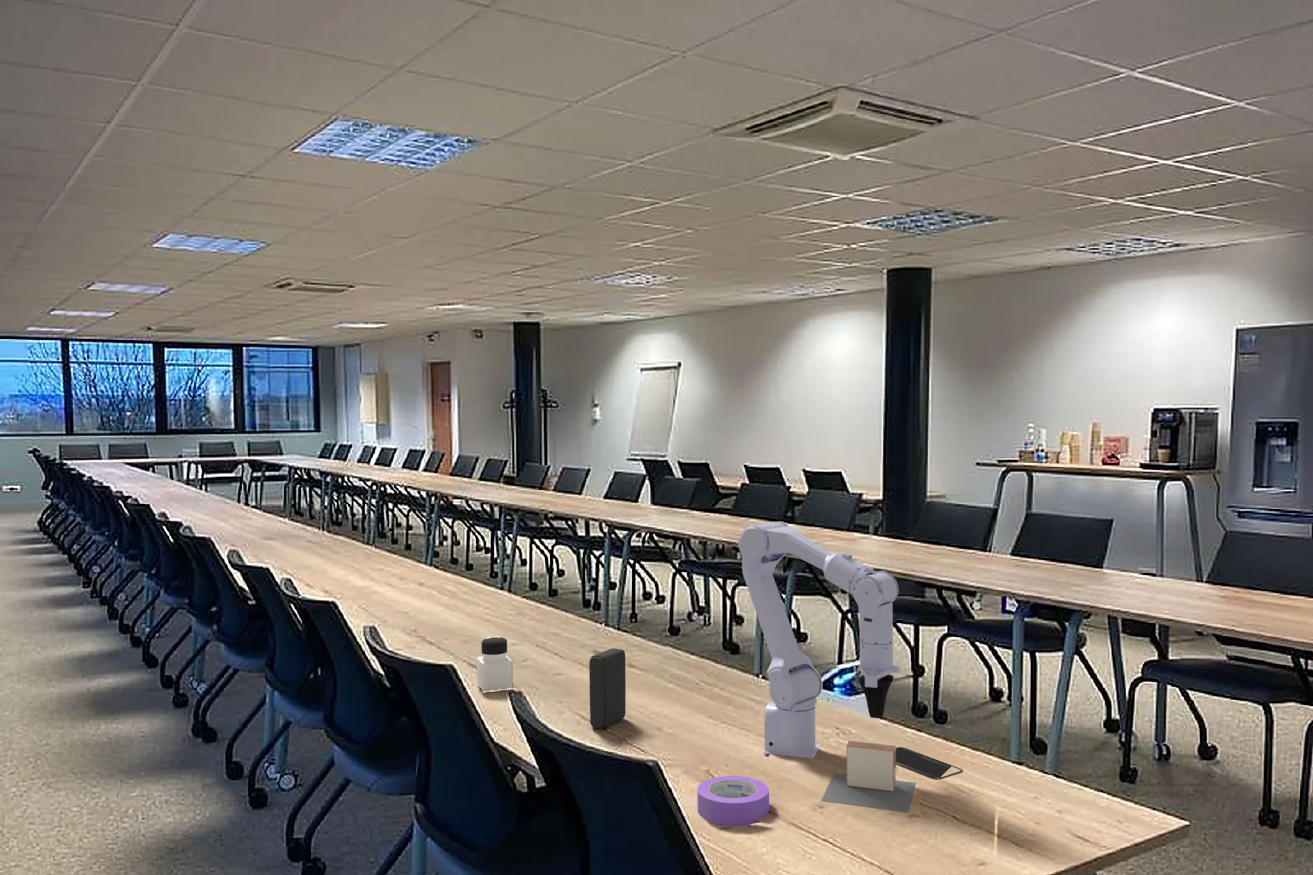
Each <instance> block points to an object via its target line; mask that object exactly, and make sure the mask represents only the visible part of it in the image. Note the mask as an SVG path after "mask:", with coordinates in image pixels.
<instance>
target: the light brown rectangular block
mask: <svg viewBox="0 0 1313 875" xmlns="http://www.w3.org/2000/svg"><path fill="white" fill-rule="evenodd" d="M896 748H897V746H896V745H890V744H880V743H872V742H862V741H854V740H848V741H847V744H846V774H847V786H853V787H861V788H869V789H877V790H884V791H892V792H895V788H896V780H897V765H896Z"/></svg>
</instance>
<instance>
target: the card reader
mask: <svg viewBox="0 0 1313 875" xmlns="http://www.w3.org/2000/svg"><path fill="white" fill-rule="evenodd" d="M588 663H589V664H588V665H589V668H588V669H589V674H588V675H589V676H588V677H589V716H590V717H589V718H590V721H589V722H590V725H591V727H592V728H596V729H603V730H604V729H606V728H608V727H610V726H612V725H614V724H616V723H617V722H620V721H622V720H623V719H624V718H625V716H626V713H627V712H626V708H627V707H626V705H627V704H626V703H627V702H626V698H627V696H626V693H627V692H626V690H627V689H626V688H627V687H626V686H627V685H626V684H627V683H626V651H625V650H624V649H621V648H613V647H612V648H609V649H607V650H604V651H602V652H598V653H597V654H594V655H592V656H591V657H590V659H589V662H588Z"/></svg>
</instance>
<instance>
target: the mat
mask: <svg viewBox="0 0 1313 875" xmlns="http://www.w3.org/2000/svg"><path fill="white" fill-rule="evenodd" d="M915 787H916V782H912V781H905V780H904V781H903V780H897V779H896V788H895V792H892V791H884V790H877V789H869V788H861V787H853V786H847V773H846V774H845V773H839V772H834V773H833V775H832V777H831V779H830V781H829V783H828V785H827V788H826V789H825V792H824V793H823V796H822V798H821V799H820V801H821V802H825V803H826V802H827V803H832V804H833V803H834V804H841V805H847V806H856V807H864V808H870V809H871V808H872V809H877V810H879V809H880V810H884V811H885V810H886V811H892V812H893V811H894V812H898V813H899V812H900V813H909V810H910V806H911V803H912V800H913V795H914V792H915Z"/></svg>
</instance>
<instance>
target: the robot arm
mask: <svg viewBox="0 0 1313 875" xmlns="http://www.w3.org/2000/svg"><path fill="white" fill-rule="evenodd" d="M737 546H738V550H739V552H740V555H741V565H742V566H741V570H742V571H741V572H742V575H743V579H744V581H745V584H746V587H747V589H748V593H749V596H750V598H751V602H752V605H753V607H754V611H755V613H756V616H757V619H758V621H759V625H760V628H761V631H762V634H763V636H764V639H765V643H766V646H767V648H768V651H769V654H770V657H771V662H770V665H769V667H768V668H767V671H766V675H767V677H768V683H769V686H768V692H769V696H770V698H771V700H772V702H769V703H767V705H766V708H765V712H764V751H763V754H764V755H767V756H771V754H773V755H783V756H790V757H799V758H807V759H813V758H814V757H815V756H816V754H817V752H818V751H819V749H820V747H821V744H819V743H816V704H817V700H818V699H817V698H818V697H819V696H820V695H821V693H822V691H823V688H824V687H823V685H824V684H823V683H824V682H823V678H822V676H821V674H820V673H819V672H818V670H817V669H816V668H815V667H814V665H813V663H812V659H811V658H810V657H809V656H808V655H806V654H804V653H803V652H802V651H801V650H800V649H799V646H798V644H797V640H796V638H795V634H794V632H793V629H792V626H791V622H790V621H789V617H788V615H787V612H786V608H785V606H784V603H783V601H782V598H781V595H780V592H779V589H778V586H777V583H776V581H775V578H774V575H773V573H774V572H775V569H776V568H777V567H776V566H777V564H778V563H779V562H780V561H781V560H782V559H783V558H784V556H786V554H790V555H791V556H792V555H793V556H795V557H797V558H798V559H800V560H802V561H803V562H804V561H805V562H806V563H808V564H811V565H812V566H814V567H815V568H817V569H820V570H822V571H823V575H824V576H823V577H824V578H825V580H826V581H827V582H830V583H832V584H833V585H835V586H837V587H838V588H840V589H842V590H843V591H844V592H847V593H848V594H850V595H852V596H853V599H854V601H855V602H856V604H857V606H858V614H859V664H858V670H859V672H860V673H861V676H859V678H858V682H859V686H860V687H861V689H862V691H863V694H864V696H865V701H866V706H867V709H868V710H867V711H868V715H869V718H871V719H881V720H882V719H883V717H884V714H885V708H886V703H887V698H888V694H889V689H890V687H891V685H892V683H893V681H894V675H893V674H892V673H899V672H900V666H899V665H893V664H894V661H893V660H894V657H893V656H894V654H893V652H894V650H893V641H894V640H893V634H894V632H893V629H894V628H893V627H894V625H893V622H894V621H893V614H894V613H893V609H894V607H893V602H894V601H896V599H897V597H898V596H899V591H900V590H899V589H900V588H899V585H898V582H897V580H896V579H895V577H894V576H892V575H891V574H890V573H889V572H888V571H884V570H880V571H874V567H872V566H871V565H864V564H863V563H861V562H859V561H857V560H855V559H854V558H853V554H851V553H850V552H836V553H834V554H832V553H831V552H829V551H828V550H826V549H824V548H823V547H821V546H820V545H819V544H818V543H815V542H814V541H812V540H811V539H809V538H808V537H806V536H804V535H803V534H802V533H800V532H799V531H798V530H797V529H796V527H794V526H791V525H789V524H788V523H786V522H784V521H781V520H780V521H775V522H772V523H764V524H756V525H755V524H750V525H748V526H746V527H745V528H744V529H743V530H742V533H741V535H740V537H739V539H738V541H737ZM790 670H791V671H790Z"/></svg>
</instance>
